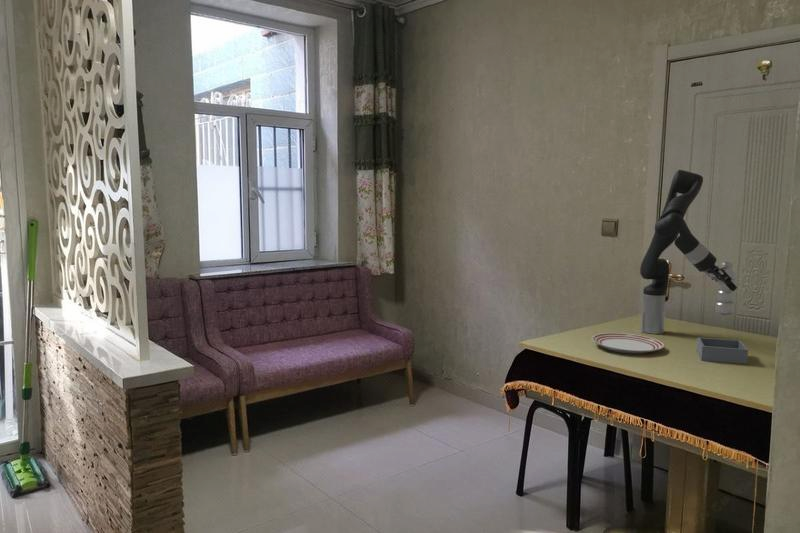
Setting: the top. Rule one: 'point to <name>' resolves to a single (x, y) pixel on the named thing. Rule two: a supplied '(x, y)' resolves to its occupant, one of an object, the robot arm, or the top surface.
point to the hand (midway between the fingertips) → (730, 288)
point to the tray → (722, 350)
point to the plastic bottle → (725, 292)
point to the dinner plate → (627, 343)
